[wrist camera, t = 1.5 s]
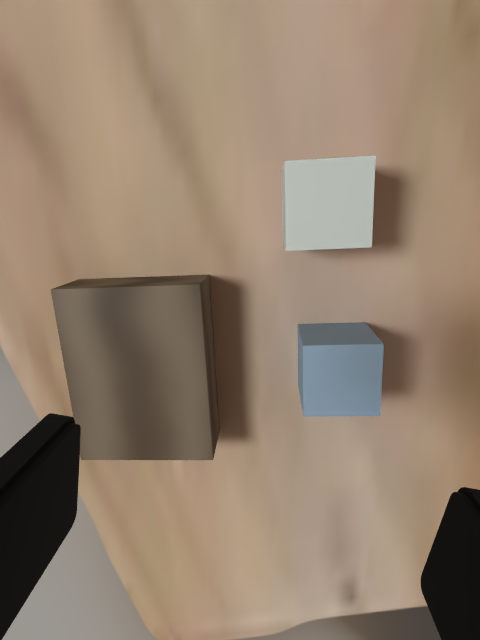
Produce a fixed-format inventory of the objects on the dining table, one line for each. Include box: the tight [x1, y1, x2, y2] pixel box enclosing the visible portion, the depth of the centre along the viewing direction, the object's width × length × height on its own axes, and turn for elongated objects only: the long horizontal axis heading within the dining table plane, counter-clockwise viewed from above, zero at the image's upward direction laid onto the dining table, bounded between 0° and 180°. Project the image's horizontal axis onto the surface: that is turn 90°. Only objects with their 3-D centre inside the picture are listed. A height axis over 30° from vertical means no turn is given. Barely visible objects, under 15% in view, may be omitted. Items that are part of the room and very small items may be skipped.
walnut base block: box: [51, 275, 220, 460], centre depth 29 cm, size 10×13×4 cm
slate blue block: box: [298, 322, 384, 416], centre depth 28 cm, size 5×5×5 cm
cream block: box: [282, 156, 376, 251], centre depth 25 cm, size 5×5×5 cm
